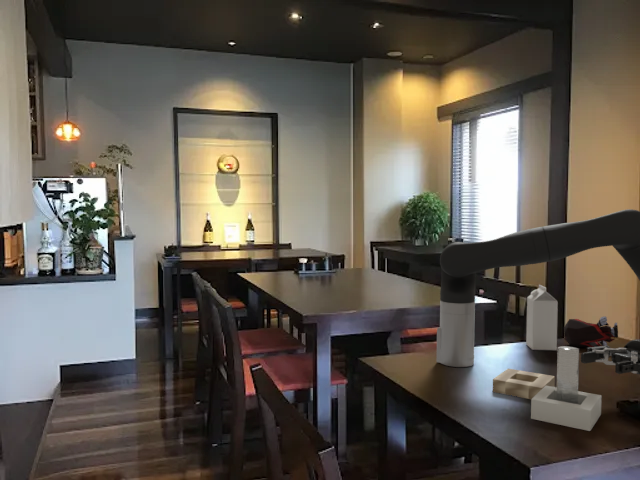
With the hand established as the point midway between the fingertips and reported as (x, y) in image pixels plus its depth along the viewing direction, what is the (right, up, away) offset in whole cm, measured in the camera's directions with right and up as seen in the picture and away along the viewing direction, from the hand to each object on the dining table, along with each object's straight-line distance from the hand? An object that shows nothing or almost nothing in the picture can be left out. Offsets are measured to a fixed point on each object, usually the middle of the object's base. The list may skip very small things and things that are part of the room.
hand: (599, 363), depth 119 cm
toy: (+25, -7, +56) cm, 61 cm away
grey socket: (-8, -10, -3) cm, 13 cm away
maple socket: (-11, -9, +14) cm, 20 cm away
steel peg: (-8, -10, -3) cm, 13 cm away
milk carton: (+9, -7, +55) cm, 56 cm away
